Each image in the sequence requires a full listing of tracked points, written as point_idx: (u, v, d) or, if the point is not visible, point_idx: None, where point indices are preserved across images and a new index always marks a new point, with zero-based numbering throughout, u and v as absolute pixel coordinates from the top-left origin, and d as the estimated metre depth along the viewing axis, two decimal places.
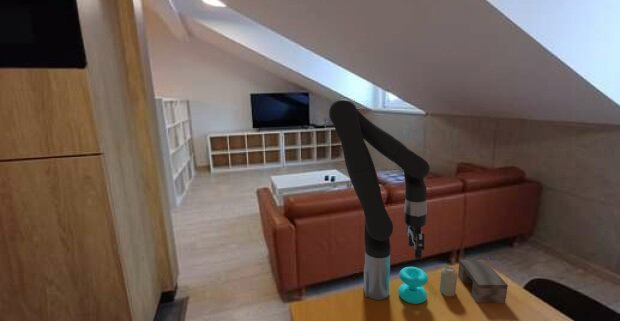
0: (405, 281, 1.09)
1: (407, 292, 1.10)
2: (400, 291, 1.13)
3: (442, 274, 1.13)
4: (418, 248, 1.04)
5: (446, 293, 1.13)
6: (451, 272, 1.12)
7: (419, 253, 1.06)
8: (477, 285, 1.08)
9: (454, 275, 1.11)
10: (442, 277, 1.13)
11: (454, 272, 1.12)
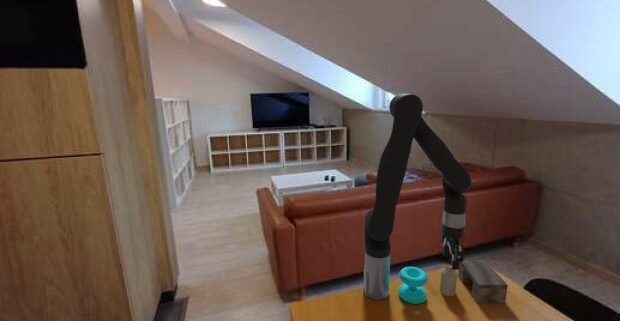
0: (405, 281, 1.09)
1: (407, 292, 1.10)
2: (400, 291, 1.13)
3: (442, 274, 1.13)
4: (457, 260, 1.05)
5: (446, 293, 1.13)
6: (451, 272, 1.12)
7: (457, 265, 1.07)
8: (477, 285, 1.08)
9: (454, 275, 1.11)
10: (442, 277, 1.13)
11: (454, 272, 1.12)
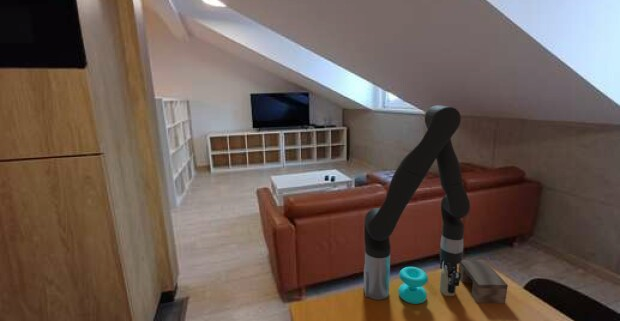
0: (405, 281, 1.09)
1: (407, 292, 1.10)
2: (400, 291, 1.13)
3: (442, 274, 1.13)
4: (453, 284, 1.08)
5: (446, 293, 1.13)
6: None
7: (453, 288, 1.10)
8: (477, 285, 1.08)
9: None
10: (442, 277, 1.13)
11: None
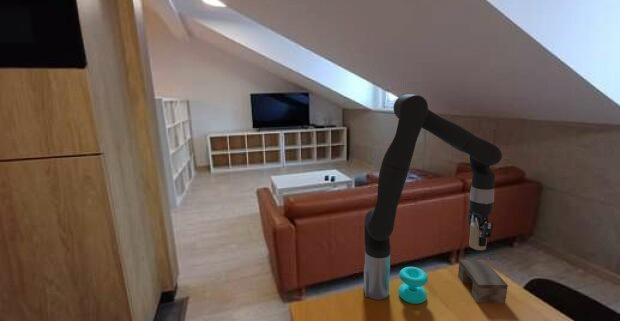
0: (405, 281, 1.09)
1: (407, 292, 1.10)
2: (400, 291, 1.13)
3: (472, 228, 1.10)
4: (484, 236, 1.05)
5: (477, 247, 1.09)
6: None
7: (484, 241, 1.07)
8: (477, 285, 1.08)
9: None
10: (472, 231, 1.10)
11: None
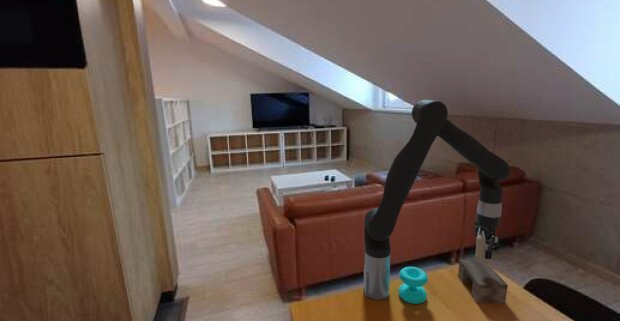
0: (405, 281, 1.09)
1: (407, 292, 1.10)
2: (400, 291, 1.13)
3: (479, 240, 1.11)
4: (491, 249, 1.06)
5: (483, 260, 1.11)
6: None
7: (490, 254, 1.09)
8: (477, 285, 1.08)
9: None
10: (479, 243, 1.12)
11: None
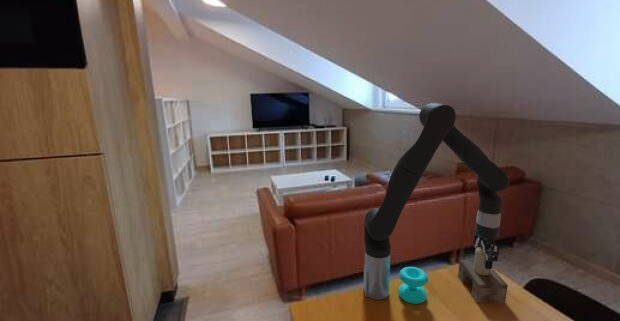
0: (405, 281, 1.09)
1: (407, 292, 1.10)
2: (400, 291, 1.13)
3: (477, 253, 1.13)
4: (491, 259, 1.06)
5: (481, 272, 1.12)
6: None
7: (490, 264, 1.09)
8: (477, 285, 1.08)
9: None
10: (477, 256, 1.13)
11: None
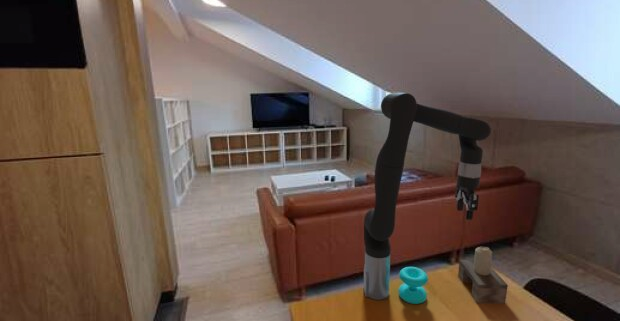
0: (405, 281, 1.09)
1: (407, 292, 1.10)
2: (400, 291, 1.13)
3: (477, 253, 1.13)
4: (471, 208, 1.08)
5: (481, 272, 1.13)
6: (486, 251, 1.11)
7: (471, 214, 1.10)
8: (477, 285, 1.08)
9: (489, 254, 1.11)
10: (476, 256, 1.13)
11: (489, 251, 1.11)
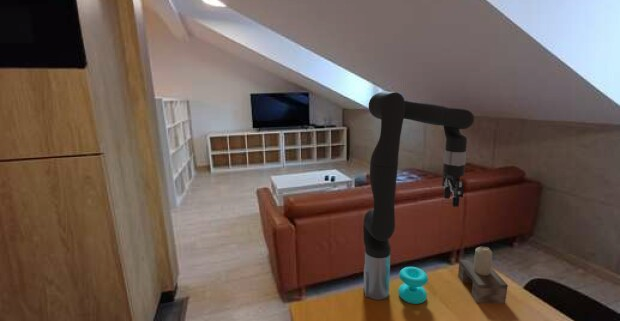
0: (405, 281, 1.09)
1: (407, 292, 1.10)
2: (400, 291, 1.13)
3: (477, 253, 1.13)
4: (457, 195, 1.11)
5: (481, 272, 1.13)
6: (486, 251, 1.11)
7: (457, 201, 1.13)
8: (477, 285, 1.08)
9: (489, 254, 1.11)
10: (477, 256, 1.13)
11: (489, 251, 1.11)
